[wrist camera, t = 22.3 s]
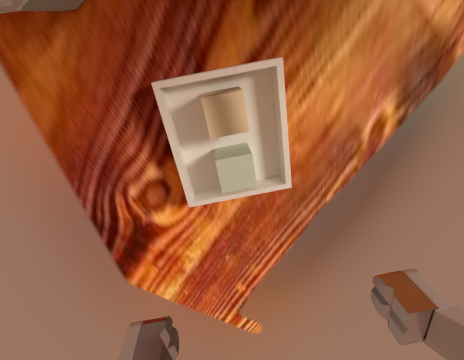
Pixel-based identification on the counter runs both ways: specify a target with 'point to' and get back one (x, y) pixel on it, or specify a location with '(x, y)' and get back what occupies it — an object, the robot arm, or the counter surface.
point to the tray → (258, 138)
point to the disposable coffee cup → (38, 5)
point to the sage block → (235, 167)
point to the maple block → (225, 112)
